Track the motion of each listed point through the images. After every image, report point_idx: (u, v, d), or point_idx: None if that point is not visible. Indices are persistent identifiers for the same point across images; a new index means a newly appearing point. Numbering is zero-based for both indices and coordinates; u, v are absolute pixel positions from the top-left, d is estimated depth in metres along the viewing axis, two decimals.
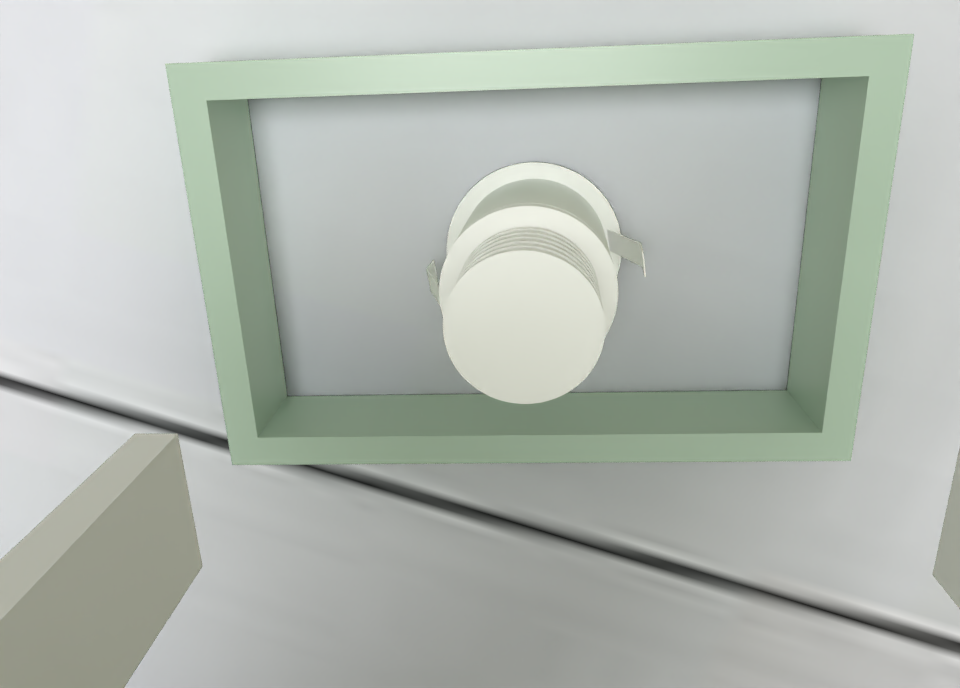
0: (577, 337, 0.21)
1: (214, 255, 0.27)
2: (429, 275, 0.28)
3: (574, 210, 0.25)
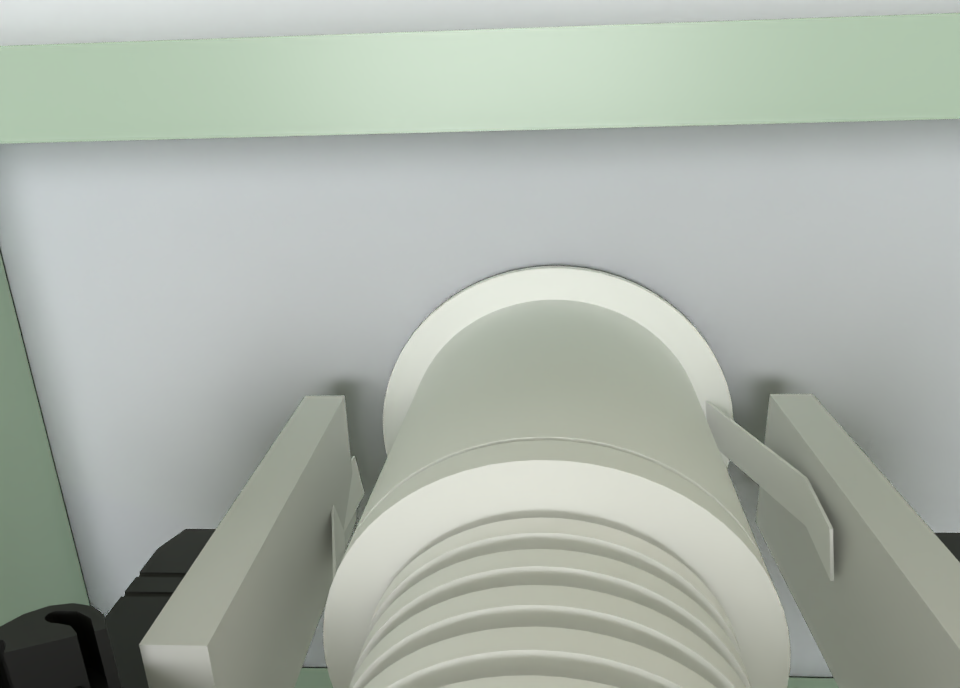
0: None
1: None
2: (332, 519, 0.13)
3: (669, 436, 0.10)
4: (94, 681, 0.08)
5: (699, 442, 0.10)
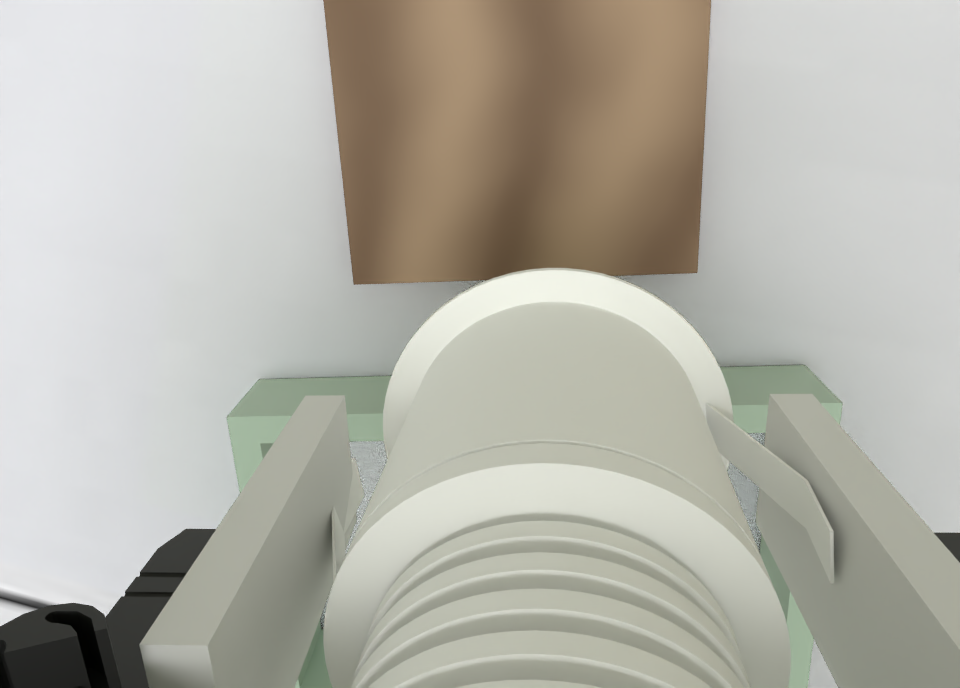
0: None
1: None
2: (332, 521, 0.13)
3: (669, 439, 0.10)
4: (94, 681, 0.08)
5: (699, 445, 0.10)
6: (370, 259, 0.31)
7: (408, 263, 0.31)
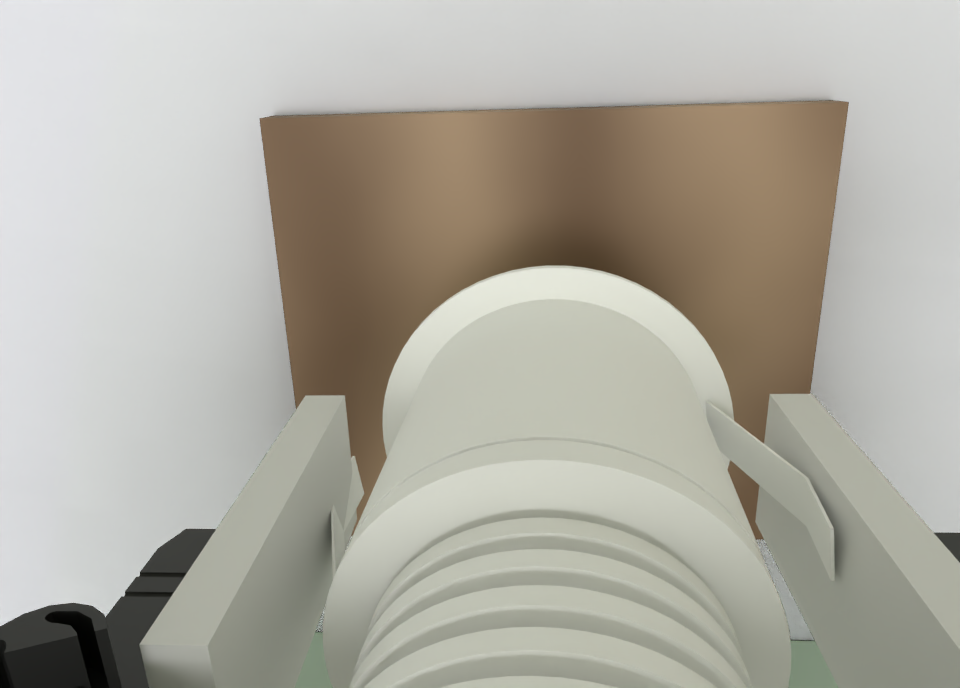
0: None
1: None
2: (331, 519, 0.13)
3: (669, 436, 0.10)
4: (95, 680, 0.08)
5: (700, 442, 0.10)
6: None
7: None
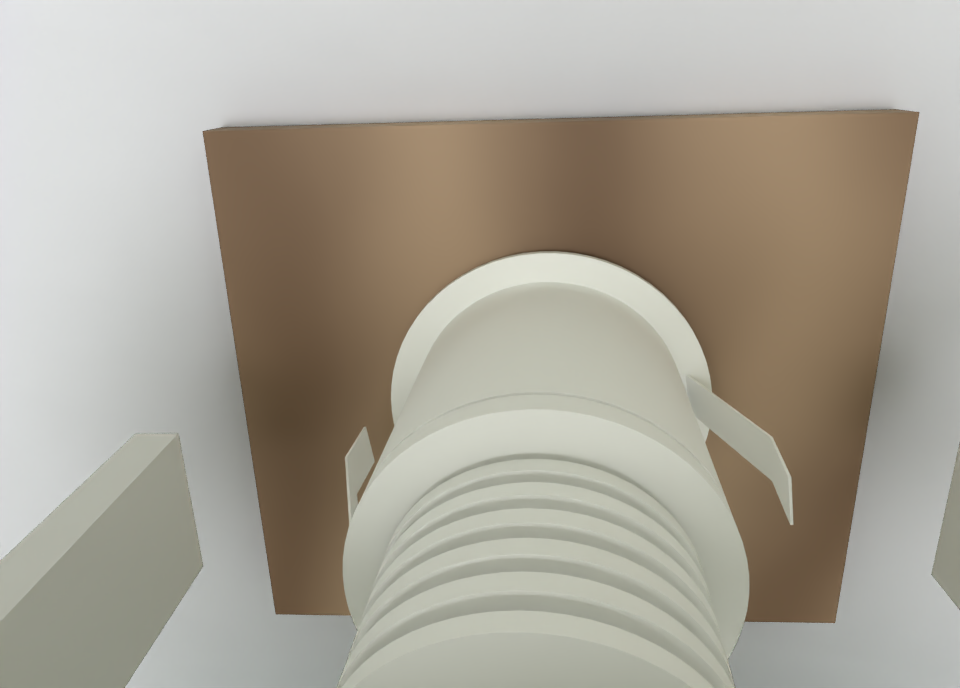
0: None
1: None
2: (346, 479, 0.14)
3: (645, 394, 0.11)
4: None
5: (673, 402, 0.12)
6: (301, 581, 0.19)
7: None
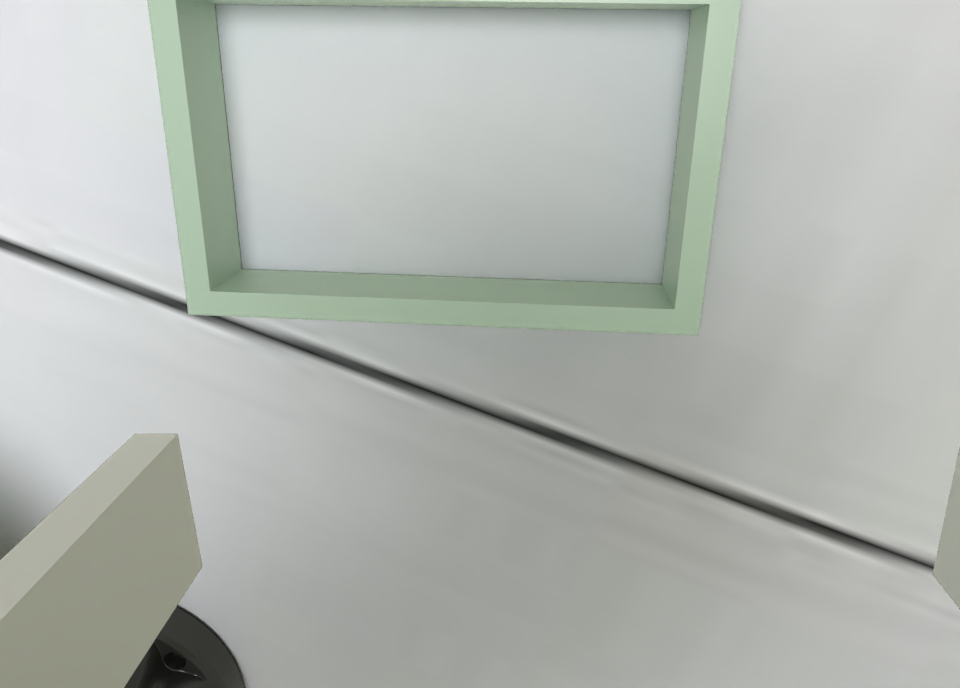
0: None
1: (178, 130, 0.33)
2: None
3: None
4: None
5: None
6: None
7: None
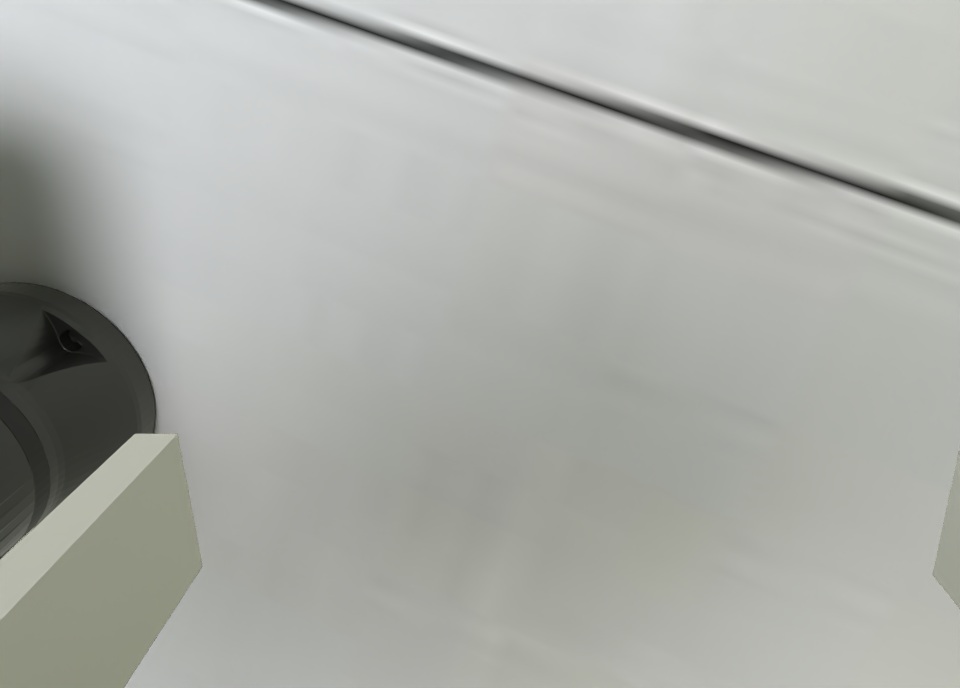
0: None
1: None
2: None
3: None
4: None
5: None
6: None
7: None
